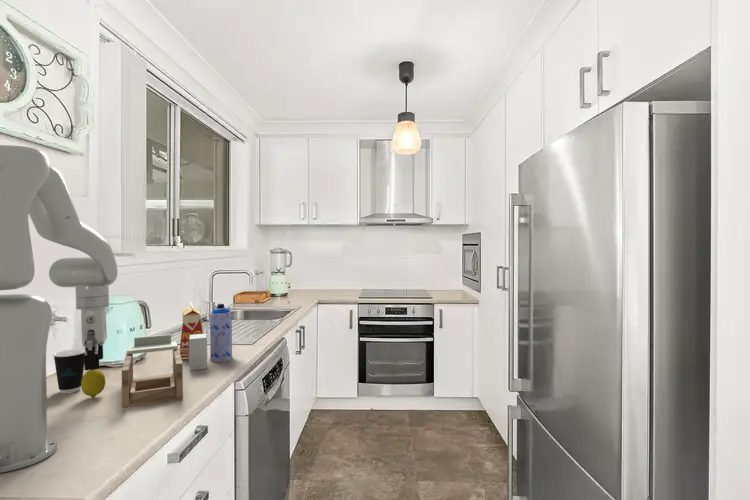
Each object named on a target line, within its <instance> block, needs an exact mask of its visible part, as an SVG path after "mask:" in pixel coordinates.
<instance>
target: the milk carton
mask: <svg viewBox="0 0 750 500" xmlns="http://www.w3.org/2000/svg"><path fill="white" fill-rule="evenodd" d="M200 313H201V312H200V311H199V309H197V308H196V307H195V306H194V305H193V302H192V301H190V305H189V306H187V307H186V308H184V309H182V325H181V333H180V342H179V351H180V355H181V359H182V360H189V338H190V335H195V334H204V328H203V323H202V318H201V314H200Z"/></svg>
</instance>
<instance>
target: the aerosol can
mask: <svg viewBox="0 0 750 500" xmlns="http://www.w3.org/2000/svg"><path fill="white" fill-rule="evenodd" d="M232 317H233V314H232V311H231V310H230V309H229V308H227V307H226V306H225V304H224V303H218V304H217V307H215V308H214V309H213V310H212V311H211V312H210V313H209V333H210V334H209V337H210V338H209V340H210V341H209V343H210V345H209V346H210V347H209V349H210V352H209V353H210V358H209V361H211V362H226V361H231V360H232V359H233V357H234V356H233V318H232Z"/></svg>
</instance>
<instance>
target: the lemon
mask: <svg viewBox="0 0 750 500" xmlns="http://www.w3.org/2000/svg"><path fill="white" fill-rule="evenodd" d="M105 386H106V376H105V375H104V373H103V371H102V370H100V369H93V370H87V371H86V372H85V373H83V377H82V381H81V389H80V390H81V391H82V393H83V394H84V395H86V396H87V397H88V396H89V397H91V398H92V399H94V398H95V397H97V396H98V395H99V394H101V393H102V392H103V390H104V389H105Z"/></svg>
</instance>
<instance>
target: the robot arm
mask: <svg viewBox="0 0 750 500" xmlns="http://www.w3.org/2000/svg"><path fill="white" fill-rule="evenodd" d="M29 217H30V220H31V221H32V224H33V226H34V228H35V231H36V233H37V234H38V235H39V236H40V237H41V238H43V239H45V240H47V241H50V242H53V243H56V244H58V245H61V246H65V247H68V248H71V249H74V250H78V251H80V252H82V253H84V254H85V255H87V256H84V257H64V258H59V259H57V260H56V261H53V263H52V264H51V265H50V267H49V271H48V276H49V279H50V281H51V282H52V284H54V285H55V286H57V287H61V288H75V309H76V310H81V311H80V312H81V313H80V319H81V321H80V322H81V324H80V325H81V326H80V327H81V328H80V329H81V342H82V346H83V347H84V349H85V355H84V370H85V371H89V370H93V369H97V370H99V368H100V360H103V359H104V344H105V343H106V341H107V339H108V329H107V315H106V308H108V307H110V291H109V286H110V285H112V284H114V283H115V281H116V280H117V278H118V274H119V273H118V271H119V269H118V264H117V260H116V258H115V255H114V252H113V250H112V247H111V245H110V243H109V242H108V241H107V240H106V239H105V238H104V237H103V236H102V235H100V234H99V233H98V232H97V231H95V230H94V229H93V228H91V227H90V226H88V225H86V224H85V223H83V222H82V221H81V220H80V218H79V215H78V213H77V210H76V207H75V205H74V202H73V200H72V197H71V193H70V192H69V189H68V186H67V183H66V181H65V179H64V177H63V174H62V173H61V172H60V171H59V169H56V168H54V167H52V166H50V160H49V157H48V156H47V154H46V153H44V151H41V150H40V149H37V148H34V147H33V148H32V147H28V146H24V145H23V146H21V145H8V144H0V291H9V290H18V289H22V288H25V287H27V286H28V285H30V283H32V282H33V279H34V276H35V273H36V272H35V259H34V252H33V247H32V246H33V245H32V239H31V238H32V237H31V233H30V232H31V231H30V227H29V226H30V225H29ZM52 317H53V313H52V306H51V305H50V303H49V302H48V301H47V300H46V299H44V298H43V297H41V296H37V295H33V294H26V293H25V294H24V293H23V294H22V293H21V294H19V293H18V294H17V293H16V294H0V473H6V472H12V471H16V470H20V469H24V468H26V467H29V466H32V465H34V464H37V463H39V462H41V461H43V460H45V459H47V458H49V457H50V456H51V455H53V454H54V453H55V452H56V451H57V448H58V443H57V441H56V439H54V438H52V437H51V438H50V437H48V417H47V416H48V414H47V413H48V409H47V406H48V403H47V399H48V398H47V397H48V395H47V391H48V389H47V349H48V348H47V347H48V339H49V333H50V330H51V329H50V328H51V324H52Z"/></svg>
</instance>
